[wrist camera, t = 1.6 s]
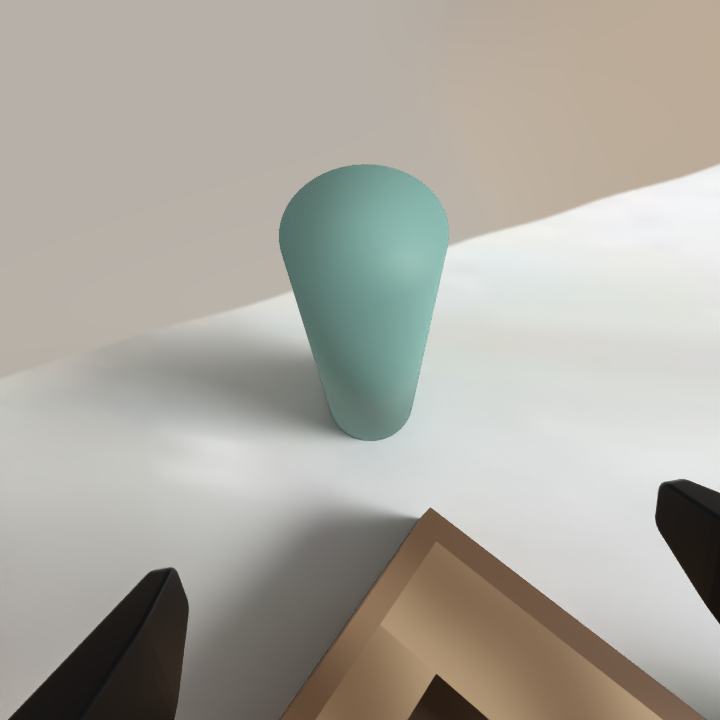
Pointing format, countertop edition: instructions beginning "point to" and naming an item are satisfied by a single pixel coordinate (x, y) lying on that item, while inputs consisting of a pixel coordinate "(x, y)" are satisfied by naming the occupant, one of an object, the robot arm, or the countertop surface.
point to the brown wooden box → (471, 648)
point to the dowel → (366, 288)
